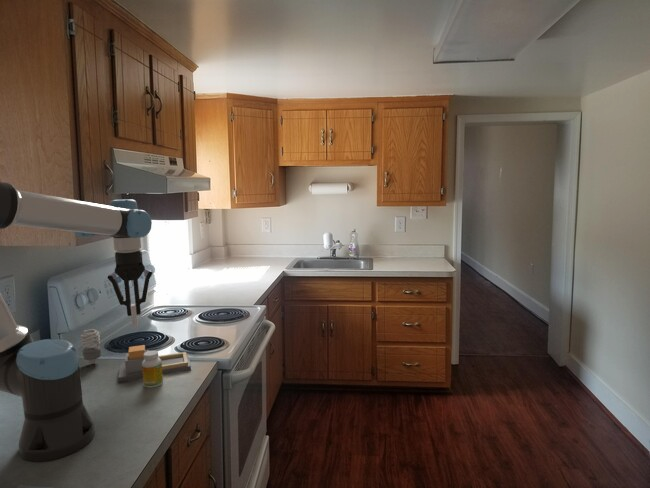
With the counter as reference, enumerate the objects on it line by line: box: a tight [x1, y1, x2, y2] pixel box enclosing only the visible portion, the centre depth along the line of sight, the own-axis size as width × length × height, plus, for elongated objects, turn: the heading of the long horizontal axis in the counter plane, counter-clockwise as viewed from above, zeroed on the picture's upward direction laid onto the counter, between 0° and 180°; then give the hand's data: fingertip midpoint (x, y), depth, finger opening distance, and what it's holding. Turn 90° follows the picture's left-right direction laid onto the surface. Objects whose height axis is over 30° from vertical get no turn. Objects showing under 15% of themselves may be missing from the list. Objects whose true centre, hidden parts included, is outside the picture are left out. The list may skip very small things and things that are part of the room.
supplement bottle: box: [142, 350, 164, 389], centre depth 134 cm, size 5×5×10 cm
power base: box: [117, 349, 192, 383], centre depth 145 cm, size 21×11×6 cm, turn 111°
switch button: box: [128, 344, 146, 360], centre depth 143 cm, size 5×5×4 cm
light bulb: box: [80, 328, 102, 365], centre depth 150 cm, size 6×6×12 cm
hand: (135, 325), depth 141 cm, fingers closed
